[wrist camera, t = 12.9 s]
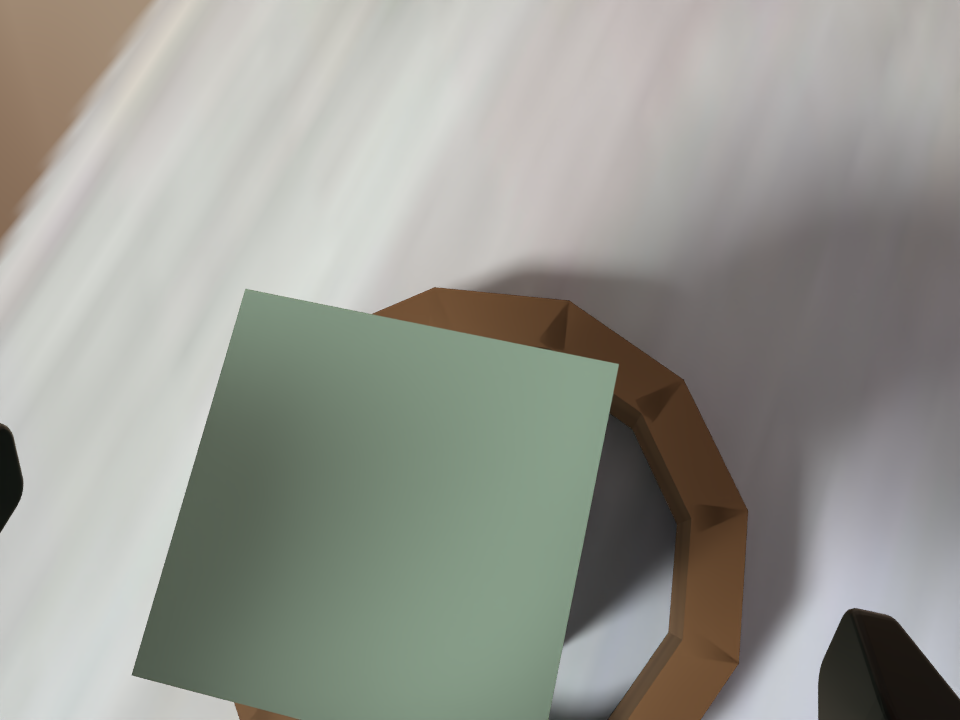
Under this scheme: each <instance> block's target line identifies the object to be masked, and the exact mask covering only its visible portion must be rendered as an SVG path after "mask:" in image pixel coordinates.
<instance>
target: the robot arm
mask: <svg viewBox="0 0 960 720" xmlns="http://www.w3.org/2000/svg"><path fill="white" fill-rule="evenodd" d="M22 492H23V476H22V472H21V468H20V463H19V459H18V455H17V450H16V446H15V441H14V437H13V434H12V432H11V431H10V429H9V428H8V427H7V426H5V425H4V424H1V423H0V533H1V531H2V529H3V528H4V526H5V525H6V523H7V521H8V520H9V518H10V516H11V515H12V513H13V512H14V510H15V508H16V507H17V505H18V503H19V501H20V499H21V496H22ZM818 720H960V699H959V698H958V696H957V695H956V694H955V693H954V691H953V690H952V689H951V688H950V686H949V685H948V684H947V683H946V681H945V680H944V679H943V678H942V676H941V675H940V674H939V673H938V671H937V670H936V669H935V668H934V666H933V665H932V664H931V663H930V661H929V660H928V659H927V658H926V656H925V655H924V654H923V653H922V651H921V650H920V649H919V648H918V646H917V645H916V644H915V643H914V641H913V640H912V639H911V638H910V636H909V635H908V634H907V633H906V631H905V630H904V629H903V628H902V626H901V625H900V624H899V623H898V622H897V621H896V620H895V619H894V618H892V617H891V616H888V615H886V614H881V613H876V612H872V611H867V610H863V609H858V608H853V609H849V610H848V611H847V612H846V613H845V614H844V615H843V617H842V619H841V621H840V623H839V626H838V628H837V630H836V632H835V634H834V637H833V639H832V641H831V643H830V645H829V648H828V650H827V652H826V654H825V657H824V659H823V661H822V664H821V668H820V673H819V681H818Z"/></svg>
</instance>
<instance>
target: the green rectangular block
mask: <svg viewBox="0 0 960 720" xmlns="http://www.w3.org/2000/svg"><path fill="white" fill-rule="evenodd" d="M618 366H619V364H616V363H611V362H606V361H601V360H596V359H591V358H586V357H581V356H576V355H571V354H566V353H561V352H556V351H551V350H546V349H541V348H536V347H531V346H526V345H521V344H516V343H511V342H507V341H502V340H497V339H492V338H487V337H482V336H477V335H472V334H467V333H462V332H457V331H452V330H447V329H442V328H437V327H432V326H427V325H422V324H417V323H412V322H407V321H402V320H397V319H392V318H387V317H382V316H378V315H373V314H368V313H363V312H358V311H353V310H348V309H343V308H338V307H333V306H328V305H323V304H318V303H313V302H308V301H303V300H298V299H293V298H288V297H283V296H278V295H273V294H268V293H263V292H258V291H253V290H249V289H245V292H244V296H243V299H242V303H241V306H240V309H239V313H238V316H237V320H236V323H235V326H234V330H233V333H232V336H231V340H230V343H229V347H228V350H227V353H226V357H225V360H224V364H223V367H222V370H221V374H220V377H219V381H218V384H217V387H216V391H215V394H214V398H213V401H212V404H211V408H210V411H209V415H208V418H207V421H206V425H205V428H204V431H203V435H202V438H201V442H200V445H199V448H198V452H197V455H196V459H195V462H194V465H193V469H192V472H191V476H190V479H189V482H188V486H187V489H186V493H185V496H184V499H183V503H182V506H181V510H180V513H179V516H178V520H177V523H176V526H175V530H174V533H173V537H172V540H171V543H170V547H169V550H168V554H167V557H166V560H165V564H164V567H163V571H162V574H161V577H160V581H159V584H158V588H157V591H156V594H155V598H154V601H153V605H152V608H151V611H150V615H149V618H148V621H147V625H146V628H145V632H144V635H143V638H142V642H141V645H140V649H139V652H138V655H137V659H136V662H135V666H134V669H133V672H132V675H133V676H136V677H140V678H144V679H148V680H152V681H155V682H159V683H163V684H167V685H171V686H174V687H178V688H182V689H186V690H190V691H193V692H197V693H201V694H205V695H209V696H213V697H216V698H220V699H224V700H228V701H232V702H235V703H239V704H243V705H247V706H251V707H254V708H258V709H262V710H266V711H270V712H273V713H277V714H281V715H285V716H289V717H292V718H296V719H300V720H548V718H549V713H550V708H551V703H552V698H553V693H554V688H555V683H556V678H557V673H558V668H559V663H560V658H561V653H562V648H563V643H564V638H565V633H566V628H567V623H568V618H569V613H570V608H571V603H572V598H573V593H574V588H575V583H576V578H577V573H578V568H579V563H580V558H581V553H582V547H583V542H584V537H585V532H586V527H587V522H588V517H589V512H590V507H591V502H592V497H593V492H594V487H595V482H596V477H597V472H598V467H599V462H600V457H601V452H602V447H603V442H604V437H605V432H606V427H607V422H608V417H609V412H610V407H611V402H612V397H613V392H614V387H615V382H616V377H617V371H618Z"/></svg>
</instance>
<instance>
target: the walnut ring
mask: <svg viewBox="0 0 960 720" xmlns="http://www.w3.org/2000/svg"><path fill="white" fill-rule="evenodd" d="M373 315H378V316H382V317H387V318H392V319H397V320H402V321H407V322H412V323H417V324H422V325H427V326H432V327H437V328H442V329H447V330H452V331H457V332H462V333H467V334H472V335H477V336H482V337H487V338H492V339H497V340H502V341H507V342H511V343H516V344H521V345H526V346H531V347H536V348H541V349H546V350H551V351H556V352H561V353H566V354H571V355H576V356H581V357H586V358H591V359H596V360H601V361H606V362H611V363H616V364H619V366H618V371H617V377H616V382H615V387H614V392H613V397H612V402H611V407H610V412H609V413H610V414H611V415H613V416H614V417H616V418H617V419H618V420H620V421H621V422H623V423H624V424H625V425H627V426H628V427H630V428H631V429H632V430H633V432H634V434H635V436H636V438H637V440H638V443H639V445H640V447H641V449H642V451H643V453H644V455H645V458H646V460H647V462H648V464H649V466H650V468H651V470H652V472H653V475H654V477H655V479H656V481H657V483H658V485H659V487H660V490H661V492H662V494H663V496H664V498H665V500H666V502H667V504H668V507H669V509H670V511H671V513H672V515H673V517H674V519H675V522H676V524H677V529H676V542H675V555H674V568H673V581H672V594H671V606H670V619H669V632H668V634H667V635H666V637H665V638H664V640H663V641H662V642H661V644H660V645H659V647H658V648H657V650H656V651H655V653H654V654H653V655H652V657H651V658H650V660H649V661H648V663H647V664H646V665H645V667H644V668H643V670H642V671H641V673H640V674H639V676H638V677H637V678H636V680H635V681H634V683H633V684H632V686H631V687H630V689H629V690H628V691H627V693H626V694H625V696H624V697H623V699H622V700H621V701H620V703H619V704H618V706H617V707H616V709H615V710H614V712H613V713H612V714H611V716H610V717H609V719H608V720H701V718H702V717H703V715H704V714H705V712H706V711H707V709H708V708H709V706H710V705H711V704H712V702H713V701H714V699H715V698H716V696H717V695H718V693H719V692H720V690H721V689H722V687H723V686H724V684H725V683H726V681H727V680H728V678H729V677H730V676H731V674H732V673H733V671H734V670H735V668H736V667H737V665H738V664H739V652H740V635H741V619H742V602H743V586H744V569H745V553H746V536H747V520H748V510H747V508H746V506H745V504H744V502H743V500H742V498H741V495H740V493H739V491H738V489H737V487H736V485H735V483H734V481H733V479H732V477H731V475H730V473H729V471H728V469H727V467H726V465H725V463H724V461H723V459H722V457H721V455H720V453H719V451H718V449H717V447H716V445H715V443H714V441H713V439H712V436H711V434H710V432H709V430H708V428H707V426H706V424H705V422H704V420H703V418H702V416H701V414H700V412H699V410H698V408H697V406H696V404H695V402H694V400H693V398H692V396H691V394H690V392H689V390H688V388H687V386H686V384H685V382H684V379H682V378H680V377H679V376H678V375H676V374H675V373H673V372H672V371H670V370H669V369H667V368H666V367H664V366H663V365H662V364H660V363H659V362H657V361H656V360H654V359H653V358H651V357H650V356H649V355H647V354H646V353H644V352H643V351H641V350H640V349H638V348H637V347H636V346H634V345H633V344H631V343H630V342H628V341H627V340H625V339H624V338H623V337H621V336H620V335H618V334H617V333H615V332H614V331H612V330H611V329H609V328H608V327H607V326H605V325H604V324H602V323H601V322H599V321H598V320H596V319H595V318H594V317H592V316H591V315H589V314H588V313H586V312H585V311H583V310H582V309H581V308H579V307H578V306H576V305H575V304H573V303H572V302H570V301H569V300H558V299H548V298H538V297H527V296H517V295H507V294H497V293H487V292H477V291H466V290H456V289H446V288H436V287H434V288H432V289H430V290H427V291H425V292H423V293H420V294H418V295H416V296H413V297H411V298H409V299H406V300H404V301H401V302H399V303H397V304H394V305H392V306H390V307H387V308H385V309H383V310H380V311H378V312H376V313H373ZM234 703H235V702H234ZM235 706H236V710H237V713H238V716H239V719H240V720H300V719H296V718H292V717H289V716H285V715H281V714H277V713H273V712H270V711H266V710H262V709H258V708H254V707H251V706H247V705H243V704H239V703H235Z"/></svg>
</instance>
